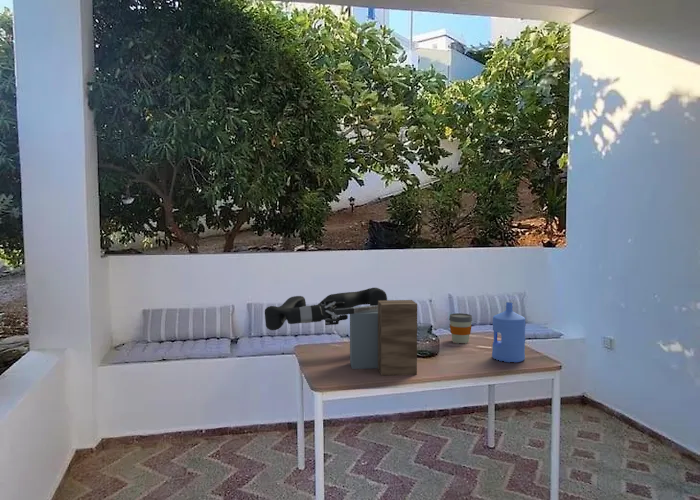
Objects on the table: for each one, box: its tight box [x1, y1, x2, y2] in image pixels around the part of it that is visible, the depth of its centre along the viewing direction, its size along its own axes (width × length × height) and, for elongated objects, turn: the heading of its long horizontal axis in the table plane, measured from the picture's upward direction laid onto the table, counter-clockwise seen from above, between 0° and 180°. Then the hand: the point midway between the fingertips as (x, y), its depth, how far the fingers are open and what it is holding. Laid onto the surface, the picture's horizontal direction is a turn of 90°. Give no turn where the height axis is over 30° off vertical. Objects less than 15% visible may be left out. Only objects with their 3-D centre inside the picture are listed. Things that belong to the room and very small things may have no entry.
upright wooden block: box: [377, 299, 418, 377], centre depth 239 cm, size 11×16×32 cm
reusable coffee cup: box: [449, 312, 473, 344], centre depth 295 cm, size 12×13×15 cm
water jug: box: [491, 301, 526, 363], centre depth 260 cm, size 16×16×28 cm
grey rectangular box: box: [349, 311, 378, 370], centre depth 249 cm, size 10×20×26 cm, turn 96°
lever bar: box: [333, 305, 378, 316], centre depth 245 cm, size 3×24×2 cm, turn 116°
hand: (345, 310), depth 237 cm, fingers open, 8 cm apart
